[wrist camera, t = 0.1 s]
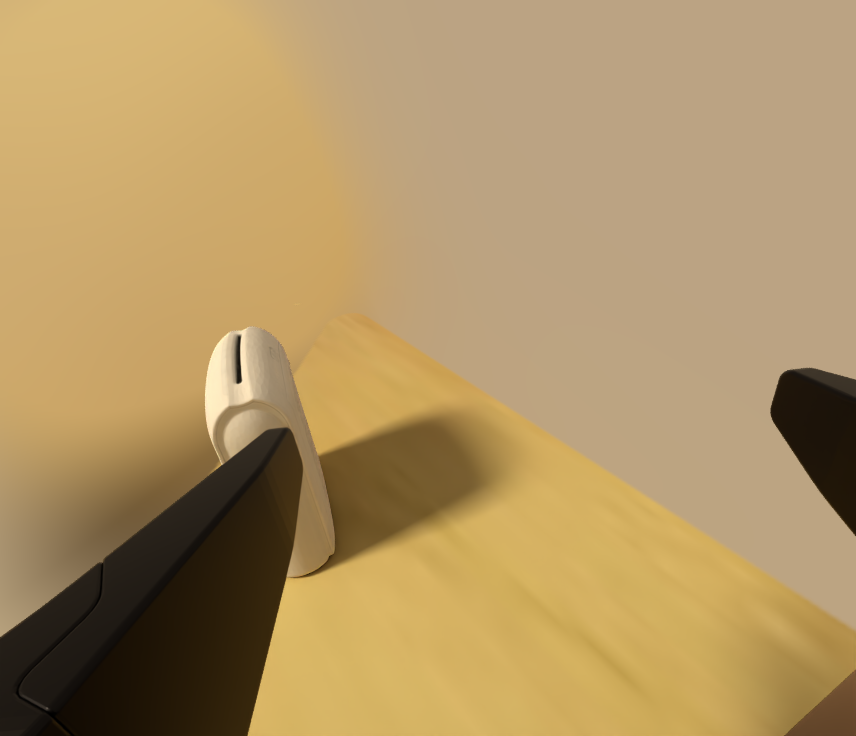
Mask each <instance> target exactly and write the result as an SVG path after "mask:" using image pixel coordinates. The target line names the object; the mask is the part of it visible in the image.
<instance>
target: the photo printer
mask: <svg viewBox="0 0 856 736" xmlns="http://www.w3.org/2000/svg"><path fill="white" fill-rule="evenodd" d="M205 390H206V391H205V408H206V409H205V410H206V421H207V427H208V431H209V435H210V438H211V441H212V443H213V446H214V448H215V450H216V452H217V455H218V457H219V459H220V462H221V464H222V465H223V464H224V463H225V462H227V461H228V460H229V459H230V458H232V457H233V456H234V455H235V454H237V453H238V452H239V451H240V450H242V449H243V448H244V447H245V446H247V445H248V444H249V443H251V442H252V441H253V440H254V439H256V438H257V437H258V436H259V435H261V434H262V433H263V432H264V431H266V430H268V429H273V428H282V427H288V428H290V429H291V431H292V432H293V435H294V438H295V441H296V444H297V447H298V450H299V453H300V456H301V459H302V463H303V477H302V485H301V493H300V501H299V510H298V518H297V526H296V534H295V540H294V547H293V551H292V556H291V560H290V564H289V568H288V573H287V577H298V576H303V575H306V574H308V573H311V572H313V571H315V570H316V569H318V568H319V567H321V566H322V565H323V564H324V563H325V562H326V561H327V560H328V558H329V556H330V555H332V554H334V551H335V534H334V526H333V519H332V514H331V508H330V503H329V498H328V494H327V489H326V485H325V480H324V476H323V472H322V468H321V465H320V460H319V456H318V455H317V452H316V448H315V445H314V442H313V439H312V436H311V433H310V430H309V426H308V423H307V420H306V417H305V414H304V411H303V407H302V404H301V401H300V398H299V395H298V392H297V388H296V385H295V382H294V378H293V375H292V372H291V369H290V363H289V360H288V358H287V355H286V353H285V351H284V348H283V347H282V345H281V344H280V343H279V341H278V340H277V339H276V338H275V337H274V336H273V335H272V334H270V333H269V332H267V331H266V330H263V329H261V328H258V327H252V326H250V327H248V328H246V329H244V330H241V331H231V332H229V333H228V334H227V335H225V336H224V337H223V338H222V339H221V340H220V342H219V343H218V344H217V346H216V347H215V349H214V352H213V354H212V356H211V359H210V363H209V368H208V372H207V379H206V389H205Z"/></svg>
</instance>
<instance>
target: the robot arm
mask: <svg viewBox="0 0 856 736" xmlns="http://www.w3.org/2000/svg"><path fill="white" fill-rule="evenodd" d="M770 413H771V417H772V420H773V422H774V424H775V425H776V427H777V428H778V430H779V431H780V433H781V434H782V436H783V437H784V439H785V440H786V442H787V443H788V445H789V446H790V448H791V449H792V451H793V452H794V454H795V455H796V457H797V458H798V460H799V462H800V463H801V465H802V466H803V468H804V469H805V471H806V472H807V474H808V475H809V477H810V478H811V480H812V481H813V483H814V484H815V485H816V487H817V488H818V490H819V491H820V492H821V494H822V495H823V496H824V498H825V499H826V500H827V501H828V503H829V504H830V505H831V507H832V508H833V509H834V510H835V511H836V512H837V514H838V515H839V516H840V518H841V519H842V520H843V521H844V522H845V524H846V525H847V526H848V527H849V529H850V530H851V531H852V532H853V534H855V536H856V380H855V379H851V378H848V377H844V376H840V375H837V374H833V373H829V372H825V371H822V370H818V369H814V368H801V369H793V370H787V371H785V372H784V373H783V374H782V375H781V376H780V378H779V381H778V385H777V388H776V391H775V395H774V398H773V401H772V405H771V412H770ZM302 477H303V463H302V459H301V456H300V453H299V450H298V447H297V444H296V441H295V438H294V435H293V432H292V431H291V429H290V428H288V427H282V428H273V429H268V430H266V431H264V432H263V433H262V434H261V435H259V436H258V437H257V438H256V439H254V440H253V441H252V442H251V443H249V444H248V445H247V446H245V447H244V448H243V449H242V450H240V451H239V452H238V453H237V454H235V455H234V456H233V457H232V458H230V459H229V460H228V461H227V462H225V463H224V464H223V465H221V466H220V467H219V468H218V469H216V470H215V471H214V472H213V473H211V474H210V475H209V476H208V477H206V478H205V479H204V480H203V481H201V482H200V483H199V484H197V485H196V486H195V487H194V488H192V489H191V490H190V491H189V492H187V493H186V494H185V495H184V496H182V497H181V498H180V499H179V500H177V501H176V502H175V503H173V504H172V505H171V506H170V507H168V508H167V509H166V510H165V511H163V512H162V513H161V514H160V515H159V516H157V517H156V518H154V519H153V520H152V521H151V522H149V523H148V524H147V525H146V526H144V527H143V528H142V529H141V530H139V531H138V532H137V533H136V534H134V535H133V536H132V537H130V538H129V539H128V540H127V541H125V542H124V543H123V544H122V545H120V546H119V547H118V548H117V549H115V550H114V551H113V552H111V553H110V554H109V555H108V556H106V557H105V558H104V560H103V563H102V562H100V563H97V564H96V565H95V566H94V567H92V568H91V569H90V570H89V571H87V572H86V573H85V574H84V575H82V576H81V577H80V578H79V579H77V580H76V581H75V582H74V583H72V584H71V585H70V586H69V587H67V588H66V589H65V590H63V591H62V592H60V593H59V594H58V595H57V596H55V597H54V598H53V599H51V600H50V601H49V602H48V603H46V604H45V605H44V606H42V607H41V608H40V609H38V610H37V611H36V612H34V613H33V614H32V615H30V616H29V617H28V618H26V619H25V620H23V621H22V622H21V623H19V624H18V625H16V626H15V627H14V628H12V629H11V630H9V631H8V632H7V633H5V634H4V635H3V636H2V637H0V736H247V735H248V731H249V727H250V723H251V719H252V715H253V711H254V707H255V703H256V699H257V695H258V691H259V687H260V683H261V678H262V674H263V670H264V666H265V662H266V658H267V654H268V650H269V646H270V642H271V638H272V634H273V630H274V626H275V621H276V617H277V613H278V609H279V605H280V601H281V597H282V593H283V589H284V585H285V581H286V577H287V573H288V568H289V564H290V560H291V556H292V551H293V547H294V540H295V534H296V526H297V518H298V510H299V501H300V493H301V485H302Z"/></svg>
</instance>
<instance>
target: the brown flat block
mask: <svg viewBox="0 0 856 736" xmlns="http://www.w3.org/2000/svg"><path fill="white" fill-rule="evenodd" d="M784 736H856V670H855V671H854V672H853V673H852V674H850V675H849V676H848V677H847V678H846V679H845V680H844V681H843V682H842V683H841V684H840V685H839V686H837V687H836V688H835V689H834V690H833V691H832V692H831V693H830V694H829V695H828V696H827V697H826V698H824V699H823V700H822V701H821V702H820V703H819V704H818V705H817V706H816V707H815V708H814V709H813V710H811V711H810V712H809V713H808V714H807V715H806V716H805V717H804V718H803V719H802V720H801V721H800V722H798V723H797V724H796V725H795V726H794V727H793V728H792V729H791V730H790V731H789V732H788V733H787V734H786V735H784Z"/></svg>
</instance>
